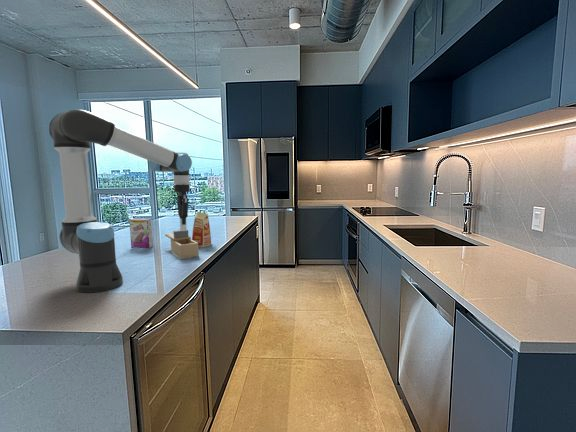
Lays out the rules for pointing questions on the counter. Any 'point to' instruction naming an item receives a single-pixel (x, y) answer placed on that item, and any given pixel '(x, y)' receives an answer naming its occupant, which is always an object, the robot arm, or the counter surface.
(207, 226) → the milk carton
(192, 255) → the mailer box
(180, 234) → the mailer lid
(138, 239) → the candy bar box
